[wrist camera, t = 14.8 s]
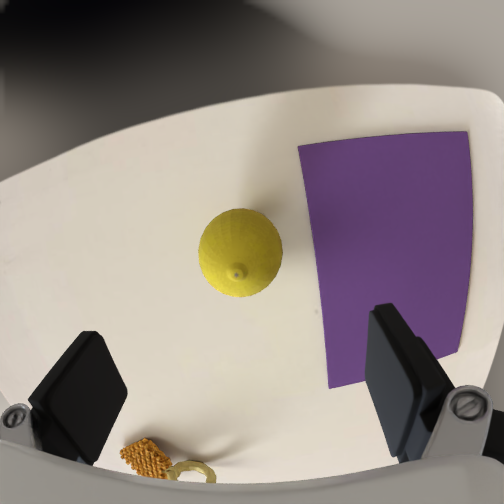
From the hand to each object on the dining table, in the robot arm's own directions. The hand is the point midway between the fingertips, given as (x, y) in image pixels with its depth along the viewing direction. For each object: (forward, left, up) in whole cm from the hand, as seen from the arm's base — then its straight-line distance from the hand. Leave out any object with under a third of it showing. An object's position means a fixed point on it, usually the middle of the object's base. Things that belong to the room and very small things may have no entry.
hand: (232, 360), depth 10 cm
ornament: (+33, +10, -16) cm, 38 cm away
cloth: (-6, +13, -15) cm, 21 cm away
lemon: (0, 0, -16) cm, 16 cm away
